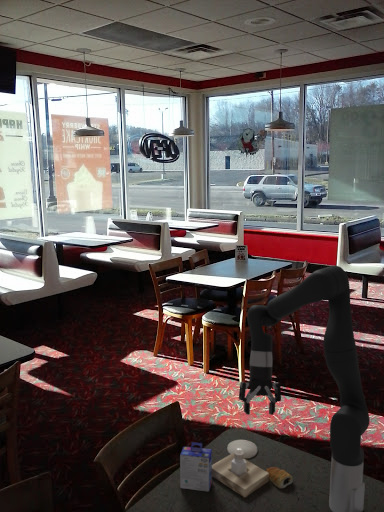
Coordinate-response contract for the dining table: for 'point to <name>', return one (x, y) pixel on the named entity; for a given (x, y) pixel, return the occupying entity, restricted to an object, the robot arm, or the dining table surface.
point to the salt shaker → (238, 463)
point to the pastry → (279, 477)
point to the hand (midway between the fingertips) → (259, 414)
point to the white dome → (243, 448)
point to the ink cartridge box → (196, 468)
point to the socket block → (243, 483)
